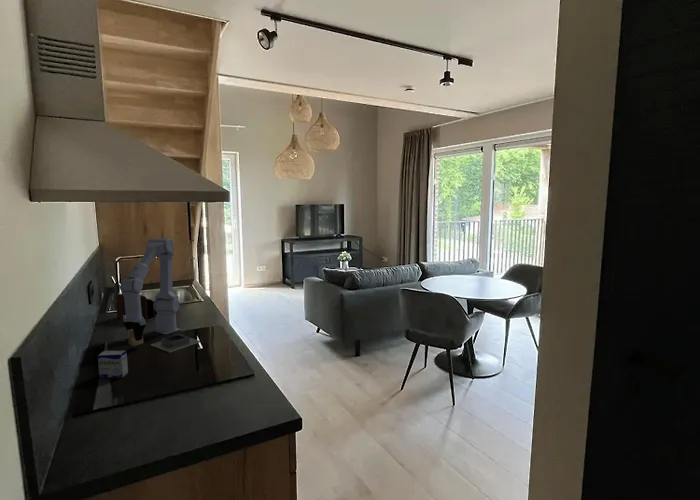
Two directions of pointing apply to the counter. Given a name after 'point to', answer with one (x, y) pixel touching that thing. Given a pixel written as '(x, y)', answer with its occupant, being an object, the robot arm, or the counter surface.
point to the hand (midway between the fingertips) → (135, 339)
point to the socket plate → (174, 343)
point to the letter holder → (146, 307)
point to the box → (112, 364)
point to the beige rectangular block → (133, 338)
